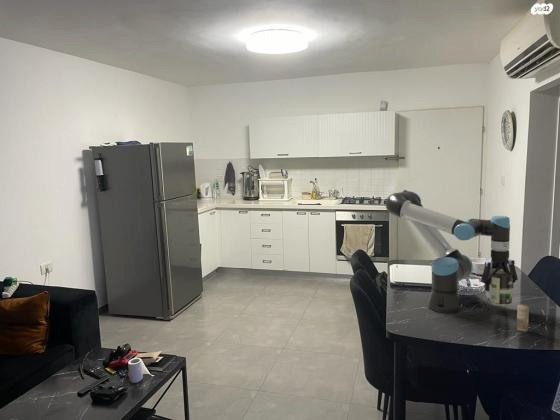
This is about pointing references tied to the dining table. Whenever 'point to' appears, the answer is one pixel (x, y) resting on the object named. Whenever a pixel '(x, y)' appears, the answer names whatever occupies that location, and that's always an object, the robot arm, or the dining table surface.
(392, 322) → the dining table surface
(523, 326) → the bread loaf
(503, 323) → the dining table surface
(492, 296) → the coffee can
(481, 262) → the paper bowls
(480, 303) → the dining table surface
